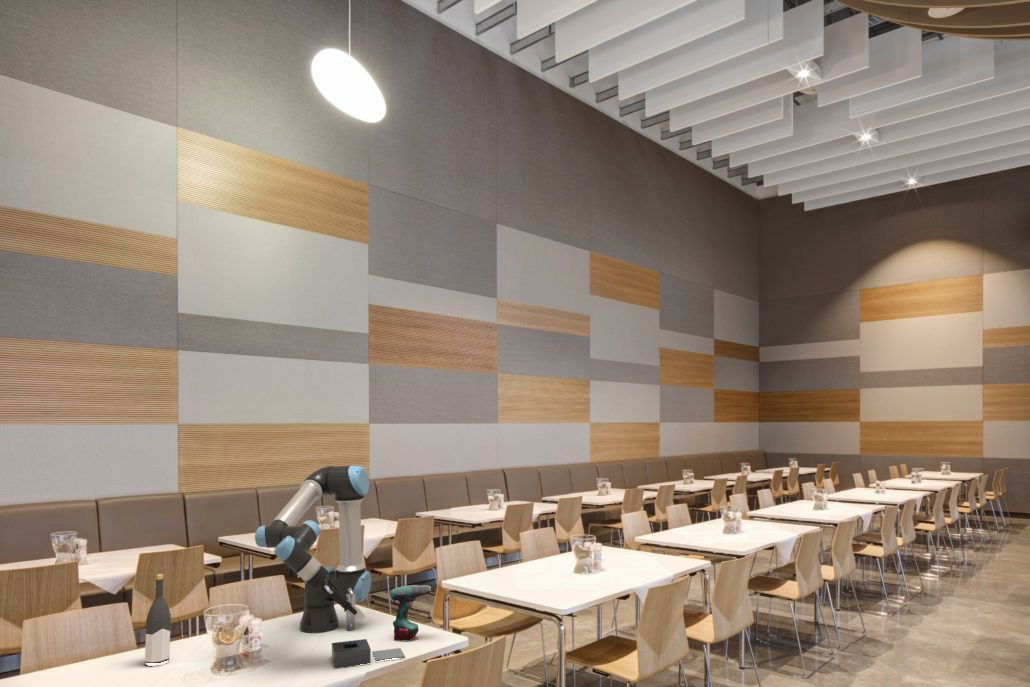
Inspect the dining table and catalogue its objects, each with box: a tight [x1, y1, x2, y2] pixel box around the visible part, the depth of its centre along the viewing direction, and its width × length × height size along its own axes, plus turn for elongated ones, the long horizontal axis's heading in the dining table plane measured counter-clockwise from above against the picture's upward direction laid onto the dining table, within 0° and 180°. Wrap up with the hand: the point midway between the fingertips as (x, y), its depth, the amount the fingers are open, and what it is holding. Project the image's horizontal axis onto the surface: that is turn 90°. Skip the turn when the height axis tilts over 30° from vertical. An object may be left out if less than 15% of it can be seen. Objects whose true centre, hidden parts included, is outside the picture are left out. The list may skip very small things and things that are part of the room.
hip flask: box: [345, 588, 356, 632], centre depth 248 cm, size 8×3×13 cm, turn 18°
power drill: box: [389, 584, 432, 641], centre depth 272 cm, size 7×16×20 cm, turn 78°
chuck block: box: [331, 638, 372, 669], centre depth 247 cm, size 12×12×5 cm
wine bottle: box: [144, 573, 172, 663], centre depth 251 cm, size 8×8×30 cm
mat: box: [371, 647, 406, 662], centre depth 251 cm, size 10×10×1 cm
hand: (361, 617), depth 250 cm, fingers closed on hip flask, 3 cm apart
